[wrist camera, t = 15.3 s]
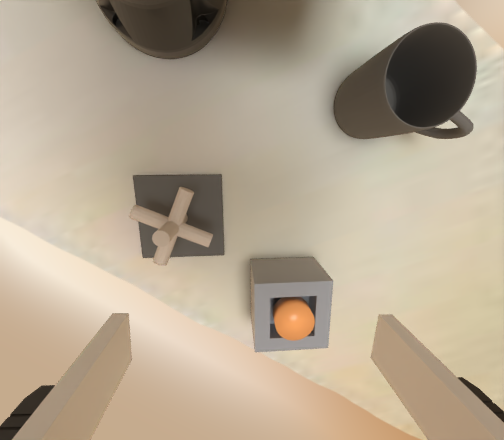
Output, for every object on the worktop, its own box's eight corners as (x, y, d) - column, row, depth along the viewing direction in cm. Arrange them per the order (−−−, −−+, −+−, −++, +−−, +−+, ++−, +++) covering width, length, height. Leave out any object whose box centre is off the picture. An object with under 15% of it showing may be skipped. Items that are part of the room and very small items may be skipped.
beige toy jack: (226, 199, 36) (223, 213, 26) (202, 259, 37) (190, 294, 28) (158, 171, 34) (127, 175, 24) (136, 235, 36) (99, 263, 26)
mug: (319, 117, 34) (363, 95, 23) (357, 54, 33) (425, -4, 21) (393, 168, 37) (467, 172, 25) (432, 111, 35) (530, 88, 24)
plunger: (272, 295, 33) (275, 306, 30) (309, 294, 33) (315, 304, 31) (272, 328, 34) (275, 341, 32) (308, 326, 34) (313, 339, 32)
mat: (134, 175, 34) (132, 175, 34) (221, 174, 35) (221, 174, 35) (143, 256, 37) (142, 257, 37) (224, 253, 38) (224, 255, 38)
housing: (250, 259, 39) (254, 284, 31) (313, 256, 39) (333, 280, 31) (251, 315, 41) (254, 352, 33) (310, 312, 42) (328, 347, 34)
